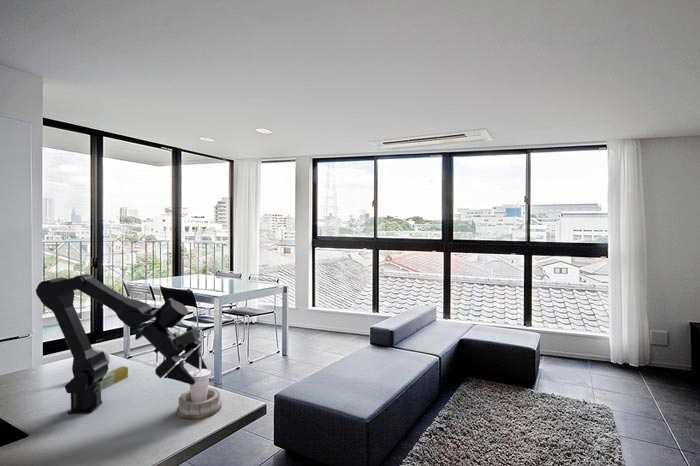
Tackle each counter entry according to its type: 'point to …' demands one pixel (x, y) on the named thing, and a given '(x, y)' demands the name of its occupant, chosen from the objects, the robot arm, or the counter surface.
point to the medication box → (113, 377)
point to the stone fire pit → (199, 405)
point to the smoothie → (199, 383)
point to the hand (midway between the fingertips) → (200, 377)
